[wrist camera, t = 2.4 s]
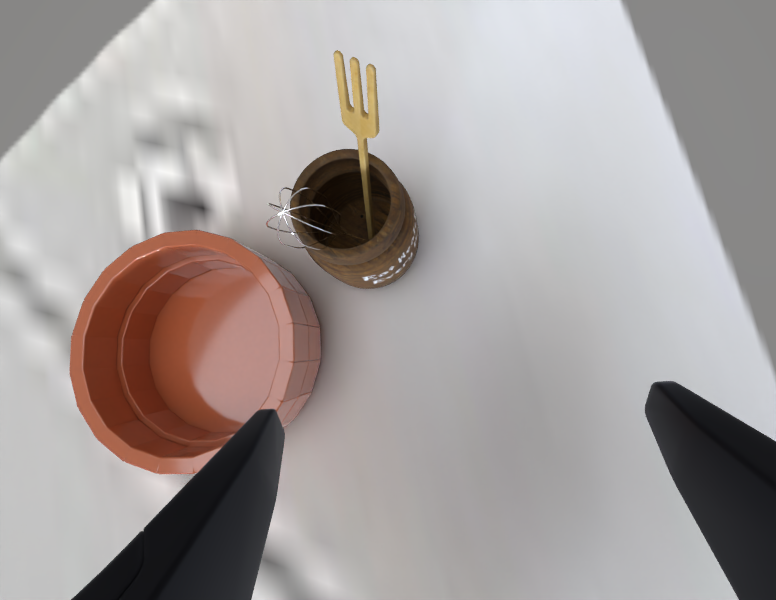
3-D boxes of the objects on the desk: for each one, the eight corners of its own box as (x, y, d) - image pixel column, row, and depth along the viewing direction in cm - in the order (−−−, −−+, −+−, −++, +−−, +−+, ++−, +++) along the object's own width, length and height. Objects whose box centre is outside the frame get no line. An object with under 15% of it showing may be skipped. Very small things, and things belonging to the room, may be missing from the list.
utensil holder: (306, 265, 25) (185, 191, 13) (354, 176, 25) (278, 25, 13) (390, 308, 24) (340, 271, 12) (439, 215, 24) (437, 90, 12)
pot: (208, 490, 24) (148, 527, 19) (107, 333, 26) (30, 330, 21) (363, 364, 24) (343, 368, 19) (249, 215, 26) (204, 184, 21)
